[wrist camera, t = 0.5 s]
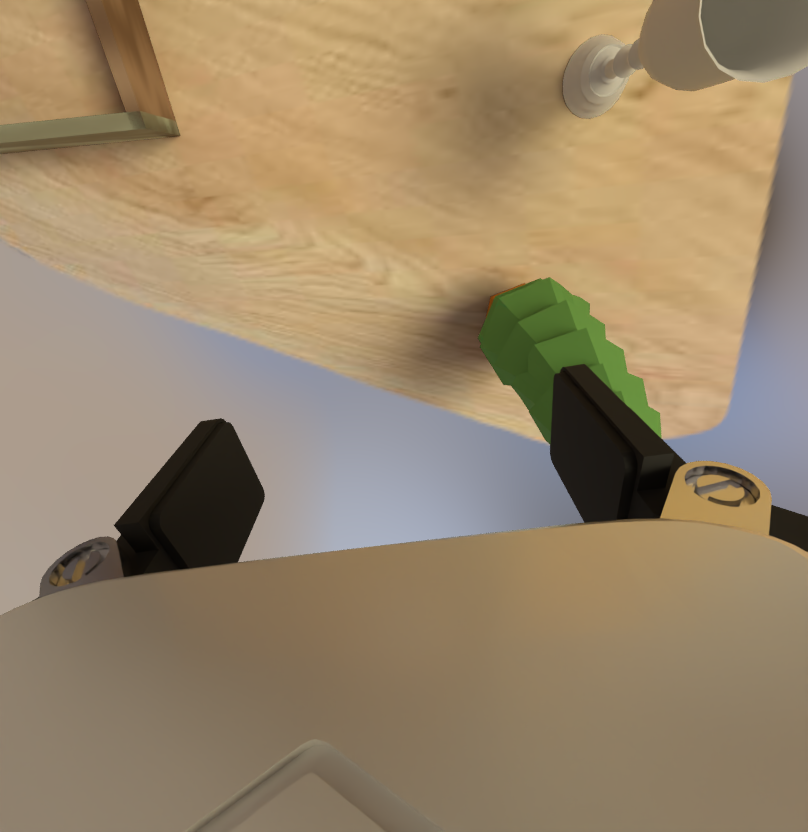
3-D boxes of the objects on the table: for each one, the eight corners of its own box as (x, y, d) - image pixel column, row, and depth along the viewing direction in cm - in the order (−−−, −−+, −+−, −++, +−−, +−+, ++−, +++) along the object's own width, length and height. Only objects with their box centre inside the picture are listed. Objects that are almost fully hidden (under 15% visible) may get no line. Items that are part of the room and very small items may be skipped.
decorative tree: (462, 350, 42) (559, 612, 16) (476, 258, 37) (647, 429, 11) (548, 355, 42) (778, 619, 17) (574, 265, 37) (955, 444, 12)
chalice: (544, 136, 32) (677, 92, 17) (553, 24, 28) (734, -165, 13) (632, 126, 32) (852, 72, 16) (653, 12, 28) (959, -196, 13)
